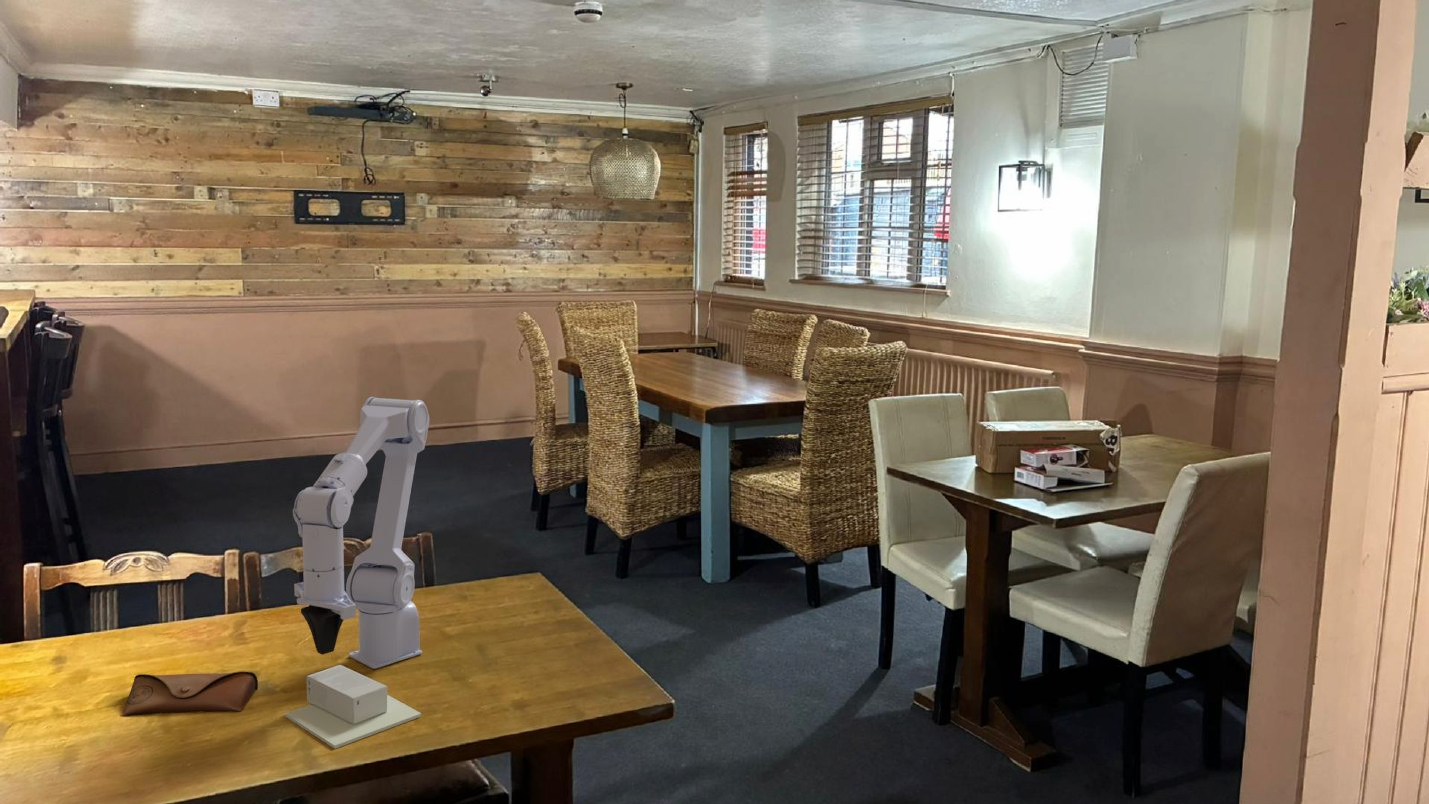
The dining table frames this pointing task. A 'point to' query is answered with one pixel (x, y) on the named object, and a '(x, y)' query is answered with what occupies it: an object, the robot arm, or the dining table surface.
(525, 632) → the dining table surface
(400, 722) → the mat
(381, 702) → the skincare box
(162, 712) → the sunglasses case
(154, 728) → the dining table surface
